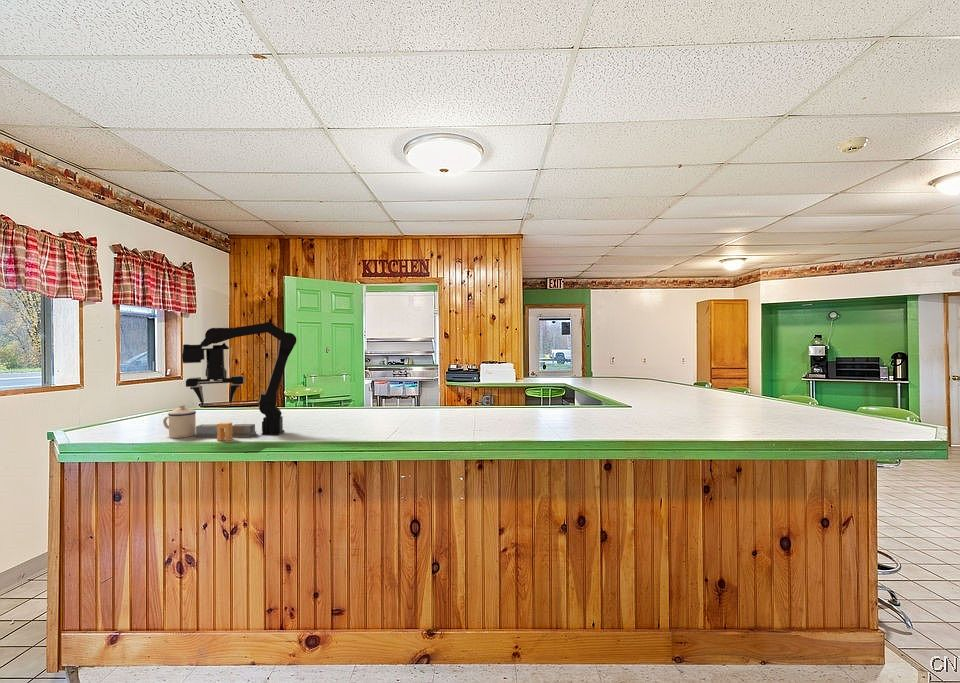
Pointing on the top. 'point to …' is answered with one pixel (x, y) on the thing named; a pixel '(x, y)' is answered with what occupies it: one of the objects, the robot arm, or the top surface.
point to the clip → (224, 431)
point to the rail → (237, 430)
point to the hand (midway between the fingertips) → (217, 404)
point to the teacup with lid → (181, 422)
